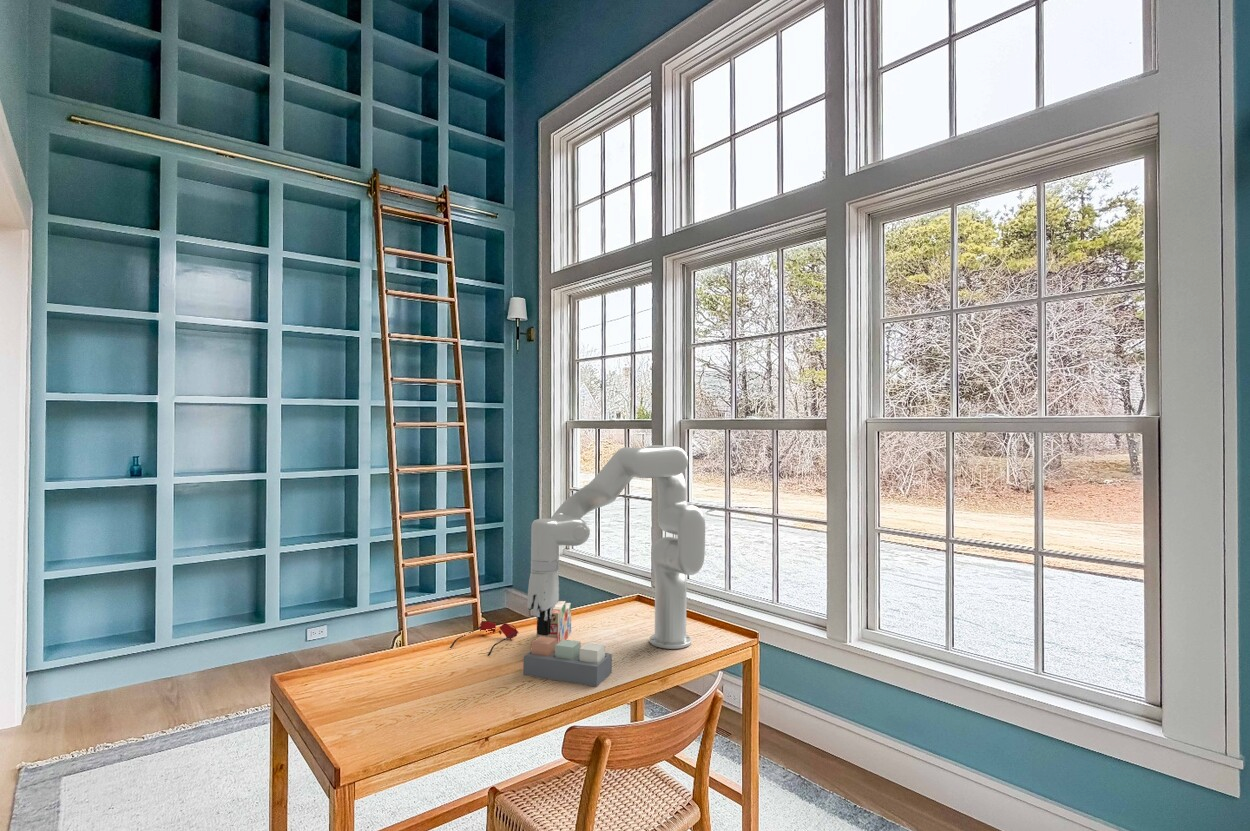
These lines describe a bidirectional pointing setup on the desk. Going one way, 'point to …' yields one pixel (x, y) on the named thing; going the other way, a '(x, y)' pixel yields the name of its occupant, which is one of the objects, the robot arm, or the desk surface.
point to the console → (567, 669)
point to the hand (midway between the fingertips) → (543, 634)
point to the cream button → (592, 653)
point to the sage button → (567, 649)
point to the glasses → (505, 628)
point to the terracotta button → (544, 646)
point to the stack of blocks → (560, 621)
